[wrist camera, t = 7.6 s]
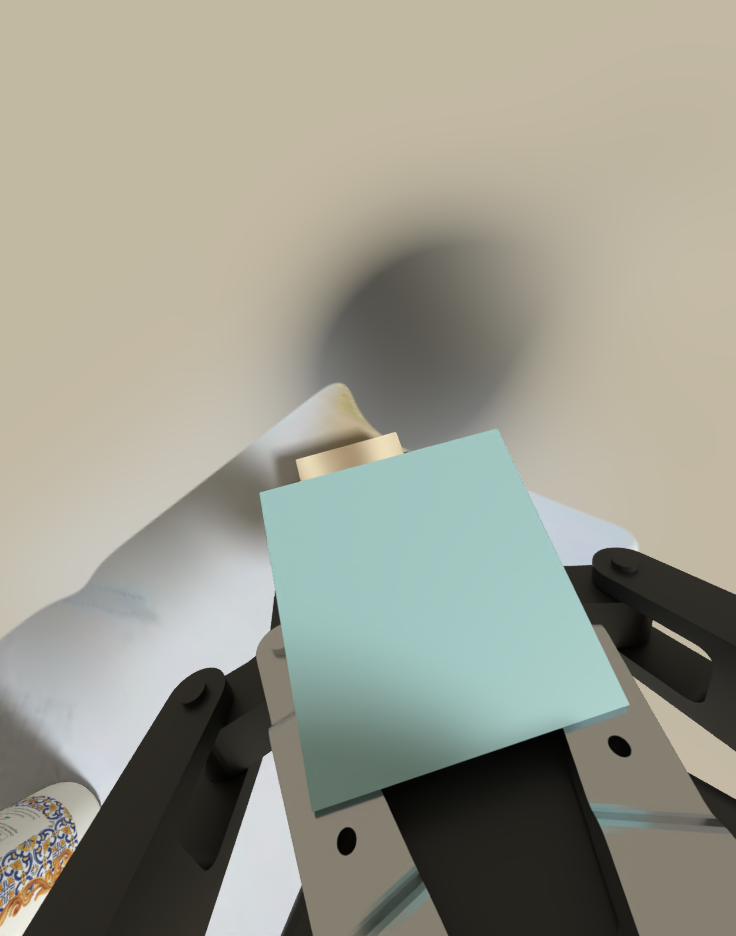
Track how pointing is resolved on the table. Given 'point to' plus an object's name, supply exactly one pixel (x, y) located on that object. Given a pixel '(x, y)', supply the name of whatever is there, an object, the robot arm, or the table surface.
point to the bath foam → (39, 848)
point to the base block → (349, 456)
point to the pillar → (425, 617)
